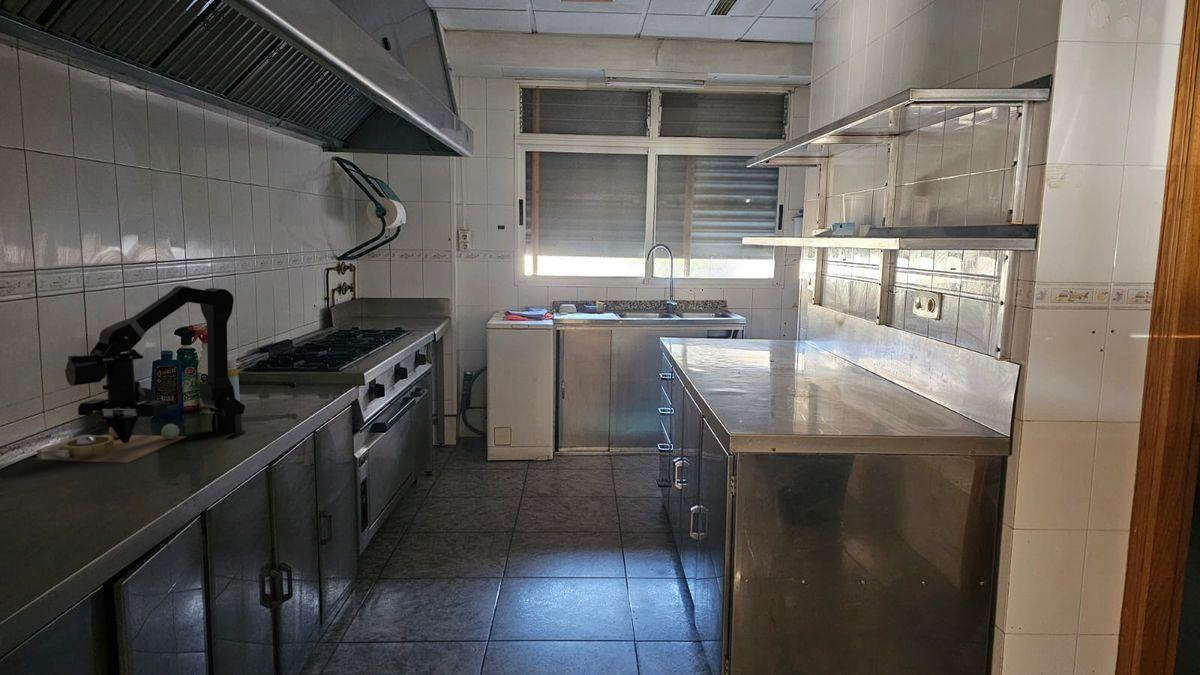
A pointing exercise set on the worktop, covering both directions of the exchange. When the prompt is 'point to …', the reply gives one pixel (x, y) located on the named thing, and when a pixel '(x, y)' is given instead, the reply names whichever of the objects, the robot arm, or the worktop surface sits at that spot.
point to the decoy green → (170, 431)
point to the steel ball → (86, 440)
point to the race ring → (89, 447)
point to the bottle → (233, 376)
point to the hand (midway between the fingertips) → (125, 442)
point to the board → (120, 453)
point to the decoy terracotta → (113, 433)
